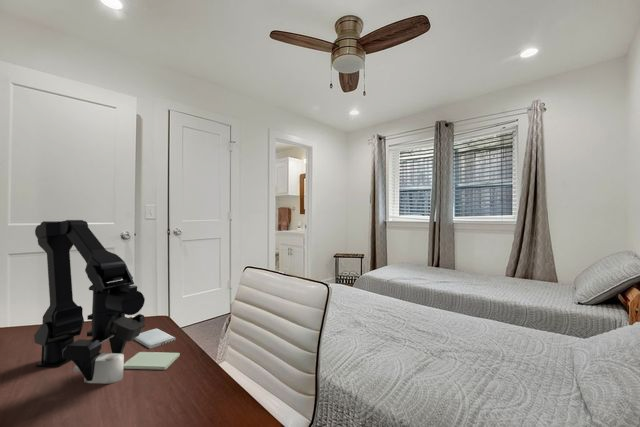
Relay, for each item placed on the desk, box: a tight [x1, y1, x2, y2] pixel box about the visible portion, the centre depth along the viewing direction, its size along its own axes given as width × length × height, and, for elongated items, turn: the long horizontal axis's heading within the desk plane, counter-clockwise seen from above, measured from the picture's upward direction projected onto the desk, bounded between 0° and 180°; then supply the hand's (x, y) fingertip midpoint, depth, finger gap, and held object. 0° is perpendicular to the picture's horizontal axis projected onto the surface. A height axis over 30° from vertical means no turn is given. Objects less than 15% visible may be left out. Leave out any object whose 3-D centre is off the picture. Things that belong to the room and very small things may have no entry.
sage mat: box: [123, 351, 181, 371], centre depth 83 cm, size 12×8×1 cm, turn 90°
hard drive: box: [133, 328, 176, 349], centre depth 98 cm, size 2×8×12 cm
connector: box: [73, 352, 125, 385], centre depth 74 cm, size 11×4×6 cm, turn 90°
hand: (104, 370), depth 74 cm, fingers open, 9 cm apart
